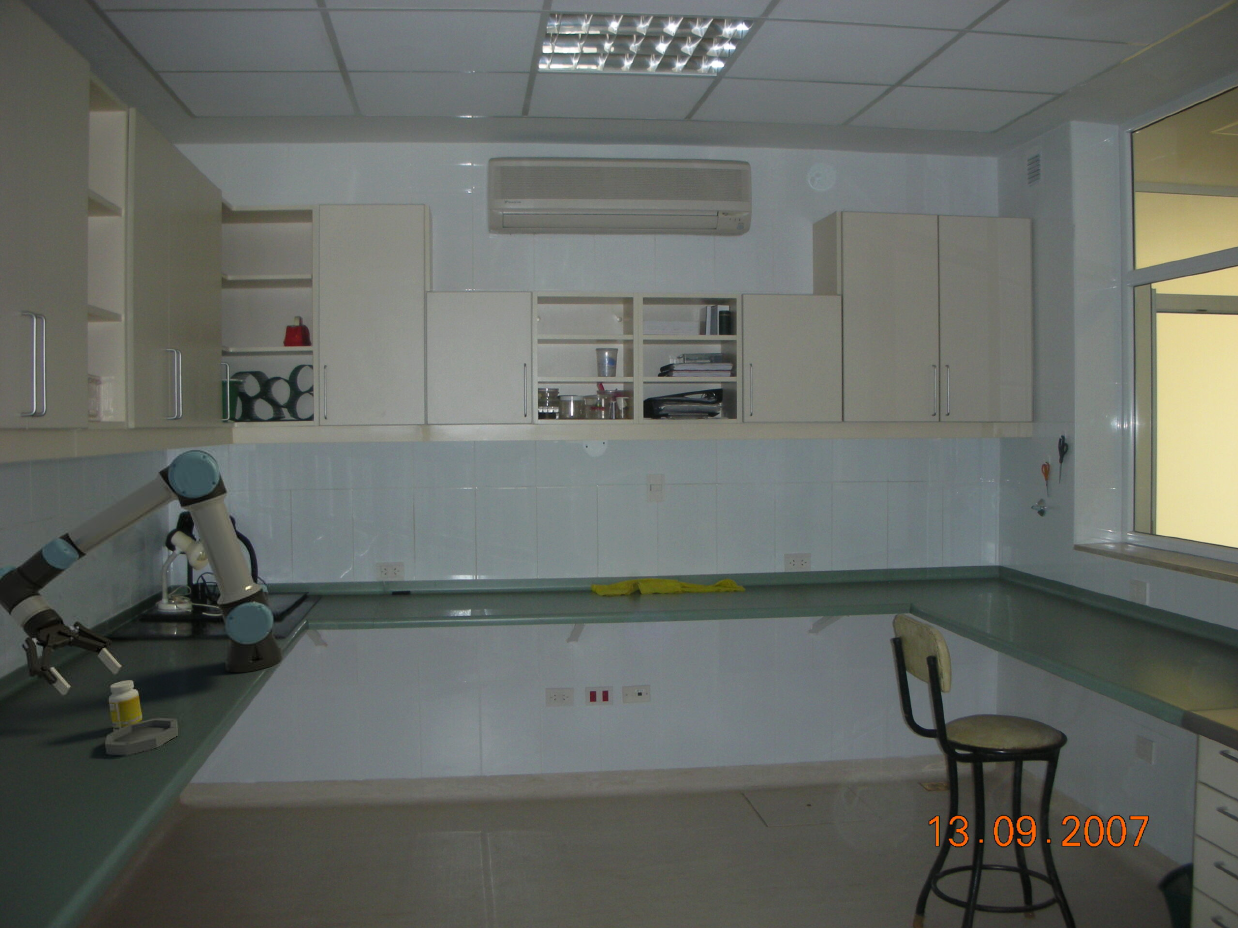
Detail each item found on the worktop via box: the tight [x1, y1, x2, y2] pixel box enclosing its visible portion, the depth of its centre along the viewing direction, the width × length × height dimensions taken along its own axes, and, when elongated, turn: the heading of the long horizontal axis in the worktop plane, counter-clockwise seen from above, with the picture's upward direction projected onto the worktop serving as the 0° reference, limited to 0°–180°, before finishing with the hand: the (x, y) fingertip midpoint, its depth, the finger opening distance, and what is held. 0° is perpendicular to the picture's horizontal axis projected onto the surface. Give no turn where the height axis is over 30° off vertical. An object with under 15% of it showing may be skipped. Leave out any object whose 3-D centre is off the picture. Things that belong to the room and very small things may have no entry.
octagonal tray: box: [104, 717, 179, 757], centre depth 187 cm, size 14×14×2 cm
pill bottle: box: [108, 679, 144, 732], centre depth 195 cm, size 6×6×11 cm
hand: (93, 680), depth 196 cm, fingers open, 13 cm apart
